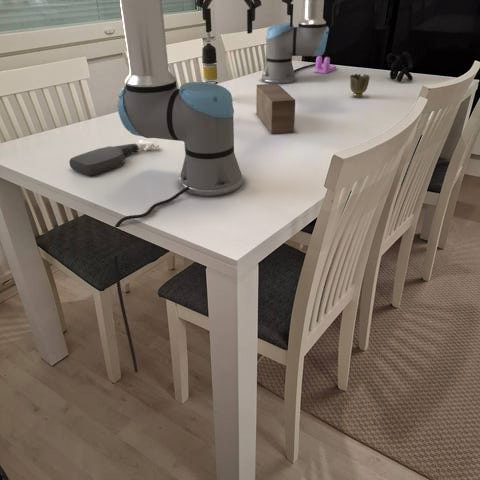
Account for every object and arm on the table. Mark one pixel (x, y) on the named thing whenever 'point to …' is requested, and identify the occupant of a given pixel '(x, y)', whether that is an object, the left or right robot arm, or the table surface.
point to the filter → (209, 61)
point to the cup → (359, 84)
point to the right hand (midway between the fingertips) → (311, 26)
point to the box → (275, 108)
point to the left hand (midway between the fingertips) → (229, 32)
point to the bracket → (324, 65)
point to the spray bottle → (106, 157)
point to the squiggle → (399, 66)
